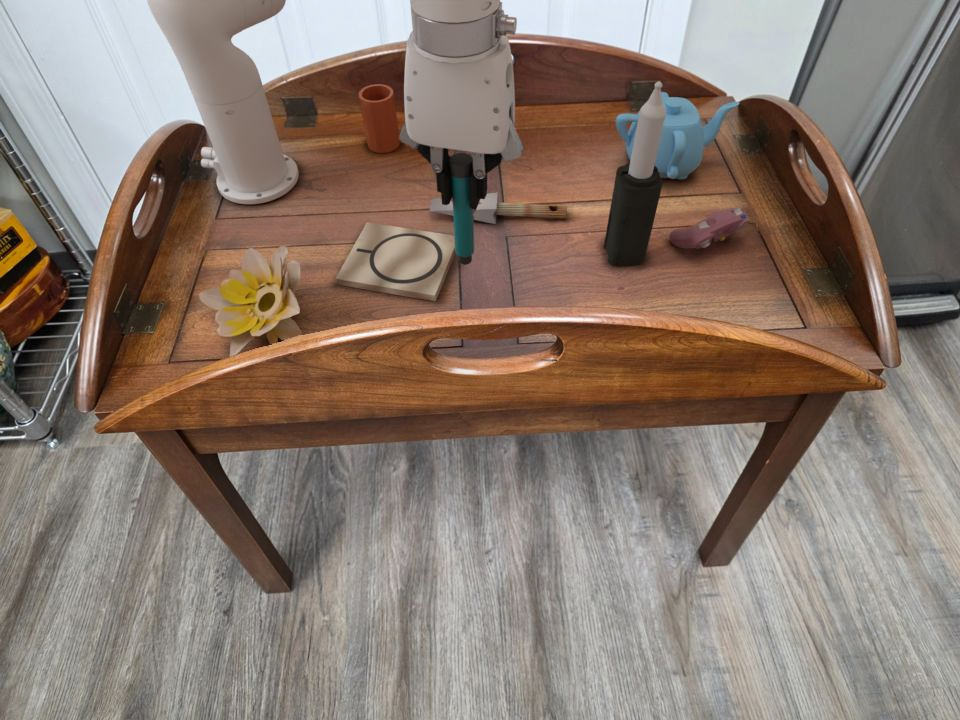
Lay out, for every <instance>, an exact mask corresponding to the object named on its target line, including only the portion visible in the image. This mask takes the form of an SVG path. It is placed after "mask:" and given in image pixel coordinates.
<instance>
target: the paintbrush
mask: <svg viewBox="0 0 960 720" xmlns="http://www.w3.org/2000/svg"><path fill="white" fill-rule="evenodd" d="M429 212H433V213H438V214H443V215H447V216H448V215H449V216H453V199H451V201H450V204H448V205H442V197H438V198H431V199H430V205H429ZM567 214H568V207H567V205H551V204H531V203H516V202H503V201H502V202H501V201H500V202H499V201H498V192H491V193H488V192H487V194H486V197H485V199H480V201H479V204H478V206H477V209H476V210H474V209H473V221H478V222H483V223H487V224H492V225H497V216H504V217H505V216H506V217H507V216H509V217H525V218H527V217H528V218H543V219H547V218H548V219H561V220H562V219H563V220H564V219H567V216H568V215H567Z"/></svg>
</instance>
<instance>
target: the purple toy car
mask: <svg viewBox="0 0 960 720" xmlns="http://www.w3.org/2000/svg"><path fill="white" fill-rule="evenodd" d="M750 223H751V218H749V217H748V214H747V213H746V212H745V211H743V210H742V209H741V207H734V208H730V209H726V210H717V211H714V212H712V213H711V214H710V215H709V216H708V217H706V218H704V219H702V220H700V221H698V222H696V223H694V224H693V225H691V226H689V227H685V228H676V229H673V230H672V231H670V233H669V241H670V243H671V244H672V245H673V246H675V247H677V248H681V249H688V248H689V249H690V248H692V249H694V248H695V250H698V249H702V248H704V249H706V248H707V247H709V246H710V244H711V242H712V240H713V242H714V243H716V242H718V241H720V242H723V241H724V240H726V238H727V237H728V236H730V235H731V234H734V233H735V232H737V231H739V230H742V229H743V228H744V227H745V226H747V225H748V224H750Z"/></svg>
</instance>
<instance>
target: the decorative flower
mask: <svg viewBox="0 0 960 720" xmlns="http://www.w3.org/2000/svg"><path fill="white" fill-rule="evenodd" d="M288 254H289V250H288V247H287V246H285V245H280V246H278V247H277V249H276V250H275V251H274V252H273V254H272V255H271V259H270V261H269V263H268V260H267V259H266V258H265V257H264V256H263V255H262V254H261V253H259V251H257V250H256V249H255V248H253V247H249V248H248V249H247V250H246V252H245V253H244V254H243V255H242V258H241V263H240V265H241V269H237V268H236V269H234V268H232V269H231V270H230V271H229V273H228V278H225V279H224V280H223V281H222V282H220V284H219V286H216V287H213V288H210V289H206V290H204V291H201V292H199V293H198V297H199V301H200V302H202V303H203V305H205V306H207V307H209V308H211V309H213V310H215V311H217V312H216V313H215V318H214V322H215V323H216V324H217V325H218V327H217V329H216V332H217V334H218V336H219V337H225V338H226V337H230V345H229V346H230V347H229V358H230V357H231V356H233V355H236V354H237V355H239V353H241V352H242V351H243V350H244V349H245V348H246V347H247V346H248V345H249V344H250V343H251V341H252V340H253V339H254V338H255V337H260V336H262V335H264V334H265V335H266V338H267V341H268V343H269V344H270V345H271V344H272V343H275V342H277V343H278V340H279V339H280V340H281V341H284V340H285V339H288V338H292V337H295V336H298V335H302V334H303V332H302V330H301V328H300V327H299V326H298V324H297V323H296V321H295V320H293V318H291V317H293V316H296V315H298V314H300V312H301V309H300V305H299V302H298V299H297V297H298V296H297V295H295V294H294V293H296V290H297V289H298V286H299V284H300V279H301V266H300V262H298V261H296V260H295V259H293V260H290V261H289V262H288V263H286V261H287V257H288ZM237 355H236V356H237Z"/></svg>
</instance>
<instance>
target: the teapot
mask: <svg viewBox="0 0 960 720" xmlns="http://www.w3.org/2000/svg"><path fill="white" fill-rule="evenodd" d="M661 96H662V103H663V105H664V107H665V109H666V115H665V120H664V124H663V129H662V133H661V138H660V142H659V147H658V151H657V156H656V160H655V166H656V167H657V168H658V172H659V173H660V174H659V175H660V177H661V179H672V180H675V179H677V180H685V179H688V176H689V175H690V174H691V173H693V172H694V171H695V170H696V169H697V168H699V166H700V165H701V163H702V159H703V156H704V148H706V147H707V146H709V145H711V144H712V143H713V141H715V139H716V138H717V136H718V135H719V132H720V131H721V127H722V124H723V123H724V119H725V118H726V116H727V115H728V113H729V112H731V111H732V110H733V109H735V108H737V107H738V106H739V105H740V101H730V102H727V103H725V104H722V106H720V107H719V108H718V110H717V111H716V112H715V114H714V115H713V117H711V118H712V119H710V121H708V123H707V124H705V125H703V124H702V120H701V116H700V113H699V110H698V108H697V107H696V106H695V105H694V103H692V102H691V101H690V100H689V99H686V98H684V97H678V96H669V94H668V93H667V92H665V91H661ZM639 113H640V110H638V112H637V113H625V112H624V113H620V114H618V115H617V116H616V118H615V128H616V130H617V132H618V134H619V135H620V137H621V139H622V140H623V141H624V143H625V150H626V155H627V157H628V158H629V160H630V161H631V156H632V150H633V145H634V140H635V135H636V129H637V124H638V119H639ZM627 123H631V124H630V126H629V129H628V130H627ZM630 161H629V162H630Z"/></svg>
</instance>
